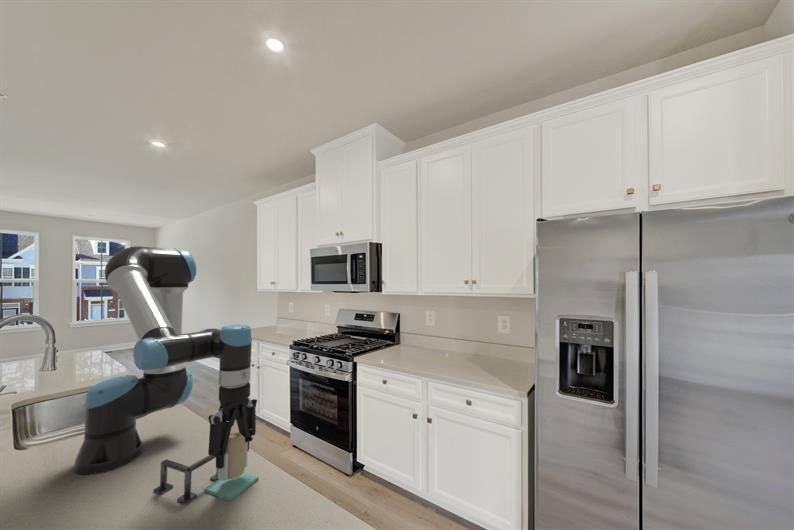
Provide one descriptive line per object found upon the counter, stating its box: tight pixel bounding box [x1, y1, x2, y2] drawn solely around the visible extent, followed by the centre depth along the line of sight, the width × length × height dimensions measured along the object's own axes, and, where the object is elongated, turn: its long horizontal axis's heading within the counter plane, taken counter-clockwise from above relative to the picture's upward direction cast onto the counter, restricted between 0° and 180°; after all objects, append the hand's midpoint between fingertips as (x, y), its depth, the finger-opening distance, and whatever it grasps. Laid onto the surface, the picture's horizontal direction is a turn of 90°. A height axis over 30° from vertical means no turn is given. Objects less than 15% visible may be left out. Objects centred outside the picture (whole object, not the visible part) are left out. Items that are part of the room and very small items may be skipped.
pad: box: [204, 471, 259, 502], centre depth 85 cm, size 9×9×1 cm
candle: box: [226, 432, 245, 479], centre depth 86 cm, size 6×6×10 cm
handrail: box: [152, 454, 219, 505], centre depth 86 cm, size 12×12×8 cm
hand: (232, 472), depth 85 cm, fingers closed on candle, 5 cm apart
